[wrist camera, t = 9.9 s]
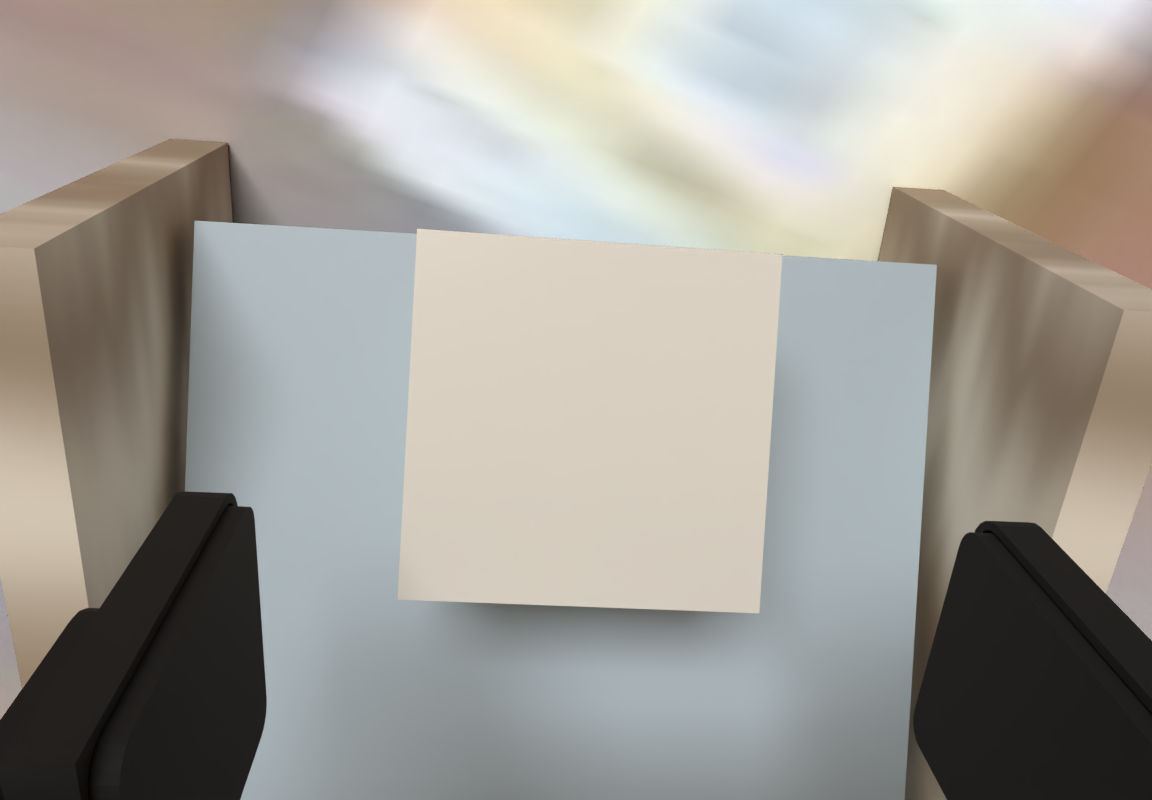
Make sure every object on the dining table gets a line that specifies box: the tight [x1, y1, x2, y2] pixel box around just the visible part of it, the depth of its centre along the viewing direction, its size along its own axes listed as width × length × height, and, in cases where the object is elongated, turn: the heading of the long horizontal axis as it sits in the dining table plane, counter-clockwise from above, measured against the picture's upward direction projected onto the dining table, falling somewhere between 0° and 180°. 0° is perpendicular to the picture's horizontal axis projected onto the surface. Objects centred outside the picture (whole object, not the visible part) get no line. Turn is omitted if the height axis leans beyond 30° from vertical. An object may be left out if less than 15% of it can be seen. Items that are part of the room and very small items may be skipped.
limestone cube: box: [397, 229, 783, 613], centre depth 16 cm, size 5×5×5 cm
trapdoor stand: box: [0, 139, 1152, 800], centre depth 20 cm, size 16×17×9 cm
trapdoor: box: [185, 221, 937, 800], centre depth 19 cm, size 14×14×1 cm
